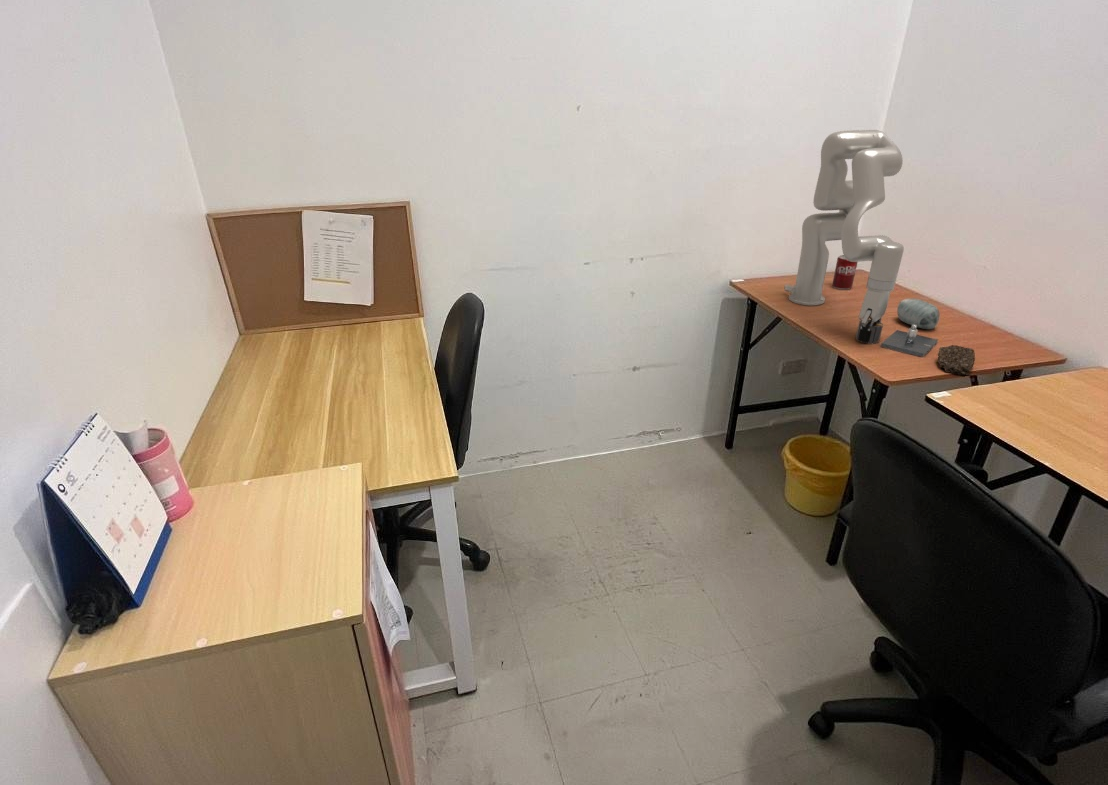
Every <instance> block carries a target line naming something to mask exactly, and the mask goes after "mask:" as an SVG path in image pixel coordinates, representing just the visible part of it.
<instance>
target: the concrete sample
mask: <svg viewBox="0 0 1108 785" xmlns="http://www.w3.org/2000/svg"><path fill="white" fill-rule="evenodd" d="M975 354H976V353H975V349H973V348H970V347H965V346H961V345H955V344H951V345H949V346H941V347H940V348H939V350H938V352H937V356H938V357H937V363H938V364H939V367H940V368H943V369H944V371H945V372H946V373H951V374H954V375H959V376H964V375H966V376H968V375H970V373H972V369H973V367H974V365H975V361H976V355H975Z"/></svg>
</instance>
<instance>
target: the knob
mask: <svg viewBox="0 0 1108 785" xmlns="http://www.w3.org/2000/svg"><path fill="white" fill-rule="evenodd" d="M862 320H863V319H861V320H859V322H858V326H857V331H856V334H855V340H856V341H858V342H861V343H863V344H871V345H873V344H878V343H879V342H880V339H881V335H882V332H883V328H884V323H883V322H882V321H881V322H879V321H876V322H874V323H873V325H872V328H871V331H872V332H871V336H870V340H869V342H868V343H866V342H862V341H859V340H858V337H859V333H860V328H861V324H862ZM869 320H870V321H872V320H871V319H869ZM867 324H869V325H870V323H869V322H868V323H867Z"/></svg>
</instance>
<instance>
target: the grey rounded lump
mask: <svg viewBox="0 0 1108 785" xmlns="http://www.w3.org/2000/svg"><path fill="white" fill-rule="evenodd" d="M897 317H898V319H899V320H900V321H902V322H903V323H905V324H907V325H910V326H912V324H915V325H917V328H919V329H923V330H933V329H934V328H935V327H936V326H937V325H938V324H939V321H940V311H939V308H938V307H937V306H936V305H934V304H932V303H930V302H928V301H925V300H923V299H917V298H904V299H901V301H900V302H899V303H898V305H897Z"/></svg>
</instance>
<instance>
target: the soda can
mask: <svg viewBox="0 0 1108 785" xmlns="http://www.w3.org/2000/svg"><path fill="white" fill-rule="evenodd" d="M858 263H859V262H851V261H848V260H847V259H846V258H845V257H844V254H841V255H839V256H838V257H837V260H836V264H835V269H834V274H833V278H832V284H831V286H832V287H833V288H834V289H836V290H841V291H848V290H850V289H853V285H854V281H855V277H856V271H857V267H858Z"/></svg>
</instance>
